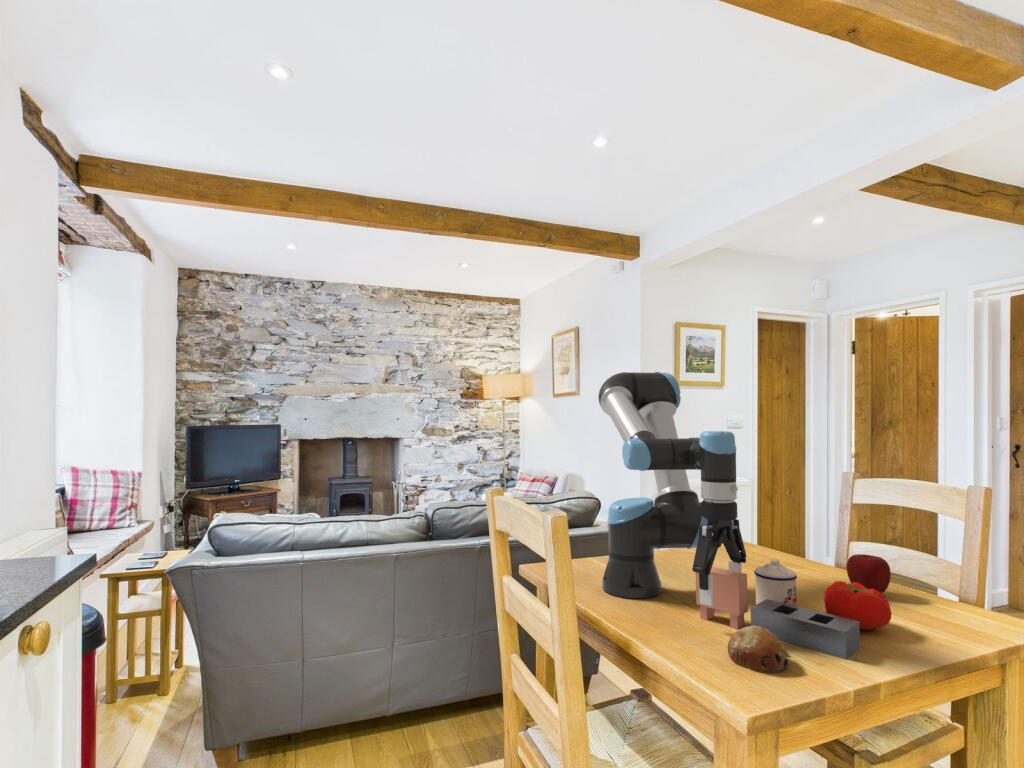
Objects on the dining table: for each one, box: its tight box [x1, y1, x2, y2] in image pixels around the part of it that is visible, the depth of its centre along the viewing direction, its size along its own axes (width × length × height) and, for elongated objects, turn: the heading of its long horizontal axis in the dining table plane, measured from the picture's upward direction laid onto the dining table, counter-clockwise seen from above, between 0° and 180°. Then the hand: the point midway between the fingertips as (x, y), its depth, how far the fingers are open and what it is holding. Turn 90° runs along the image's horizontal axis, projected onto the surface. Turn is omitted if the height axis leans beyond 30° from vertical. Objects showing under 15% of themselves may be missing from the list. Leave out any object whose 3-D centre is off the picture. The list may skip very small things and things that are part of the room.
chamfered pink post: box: [695, 566, 749, 630], centre depth 124 cm, size 10×4×11 cm, turn 42°
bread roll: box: [727, 625, 791, 674], centre depth 104 cm, size 10×10×8 cm
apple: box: [846, 553, 892, 594], centre depth 142 cm, size 10×10×10 cm
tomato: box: [823, 580, 892, 631], centre depth 120 cm, size 14×13×9 cm
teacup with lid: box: [753, 558, 798, 606], centre depth 131 cm, size 12×9×12 cm
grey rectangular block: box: [750, 599, 861, 660], centre depth 114 cm, size 18×8×5 cm, turn 42°
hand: (721, 597), depth 124 cm, fingers open, 12 cm apart
